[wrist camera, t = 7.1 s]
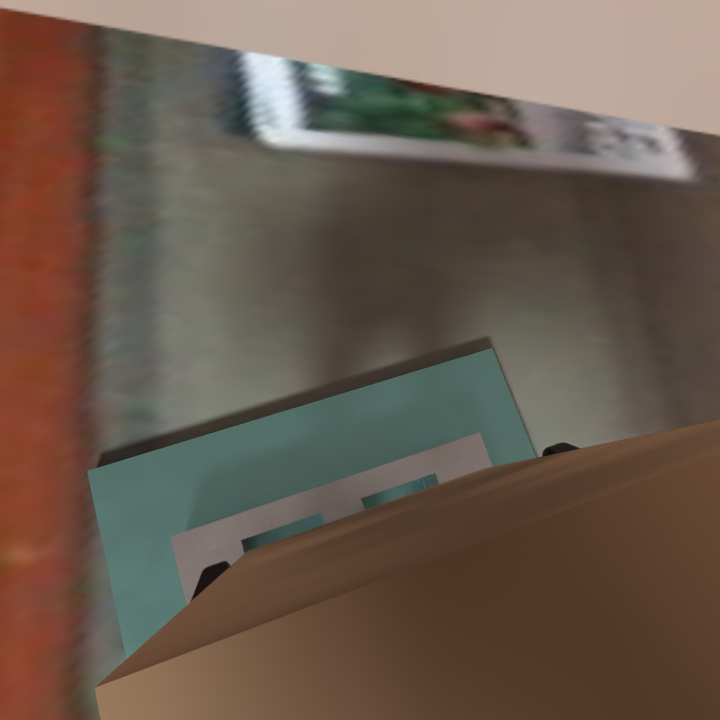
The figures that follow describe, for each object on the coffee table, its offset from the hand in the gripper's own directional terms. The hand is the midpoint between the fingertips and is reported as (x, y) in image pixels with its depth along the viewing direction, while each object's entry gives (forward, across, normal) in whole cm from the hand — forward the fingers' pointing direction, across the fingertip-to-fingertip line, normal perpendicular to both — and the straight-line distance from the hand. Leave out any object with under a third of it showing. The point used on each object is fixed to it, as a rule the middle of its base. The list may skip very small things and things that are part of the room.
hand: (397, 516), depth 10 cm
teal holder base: (+9, 0, +10) cm, 13 cm away
